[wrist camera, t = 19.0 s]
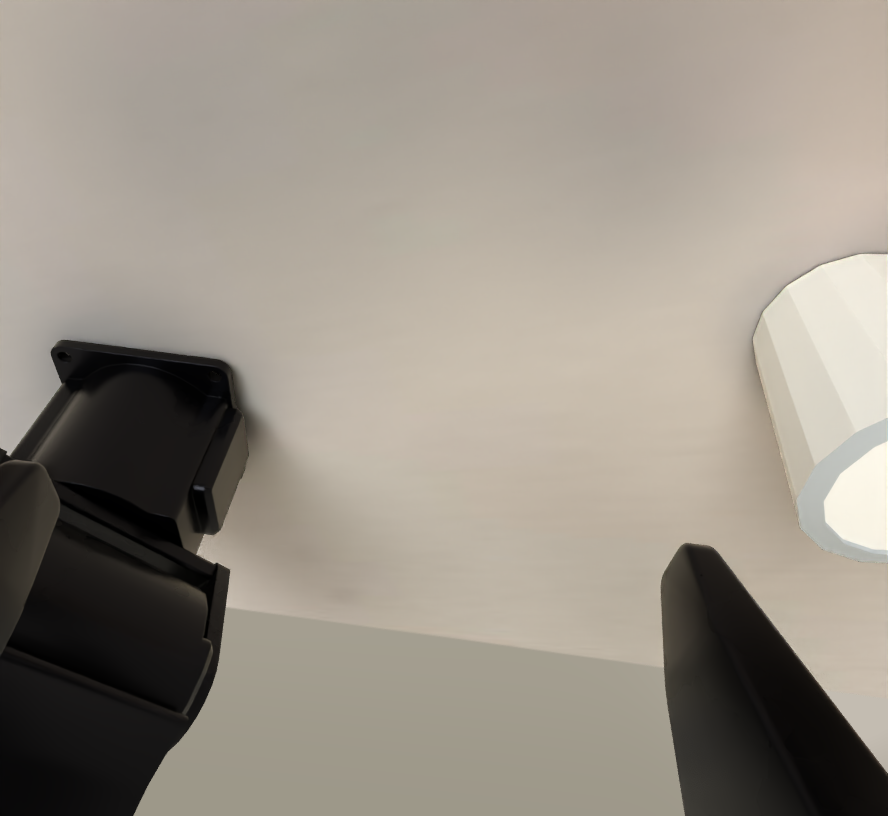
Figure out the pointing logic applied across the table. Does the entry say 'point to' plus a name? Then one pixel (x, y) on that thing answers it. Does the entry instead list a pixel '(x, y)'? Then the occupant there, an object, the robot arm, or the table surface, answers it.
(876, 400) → the shot glass
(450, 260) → the table surface
